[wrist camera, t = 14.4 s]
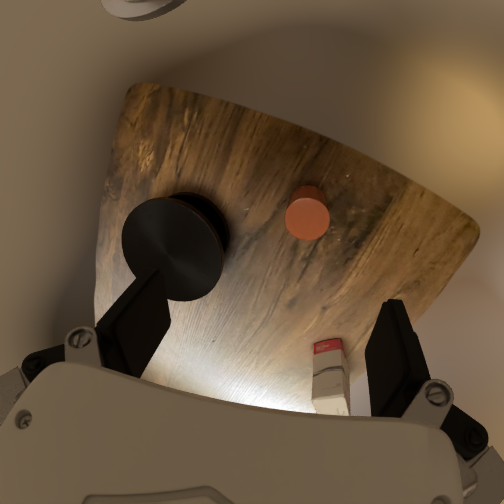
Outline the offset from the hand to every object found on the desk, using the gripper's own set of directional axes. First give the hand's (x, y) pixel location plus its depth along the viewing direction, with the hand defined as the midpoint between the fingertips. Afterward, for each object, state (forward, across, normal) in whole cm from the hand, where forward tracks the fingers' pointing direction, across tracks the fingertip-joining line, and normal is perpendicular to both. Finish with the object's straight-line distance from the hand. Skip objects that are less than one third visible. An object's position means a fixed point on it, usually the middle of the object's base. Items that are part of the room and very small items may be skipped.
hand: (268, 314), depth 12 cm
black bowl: (+26, +14, +9) cm, 31 cm away
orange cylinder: (+26, -2, +3) cm, 26 cm away
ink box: (+25, -10, +29) cm, 40 cm away
